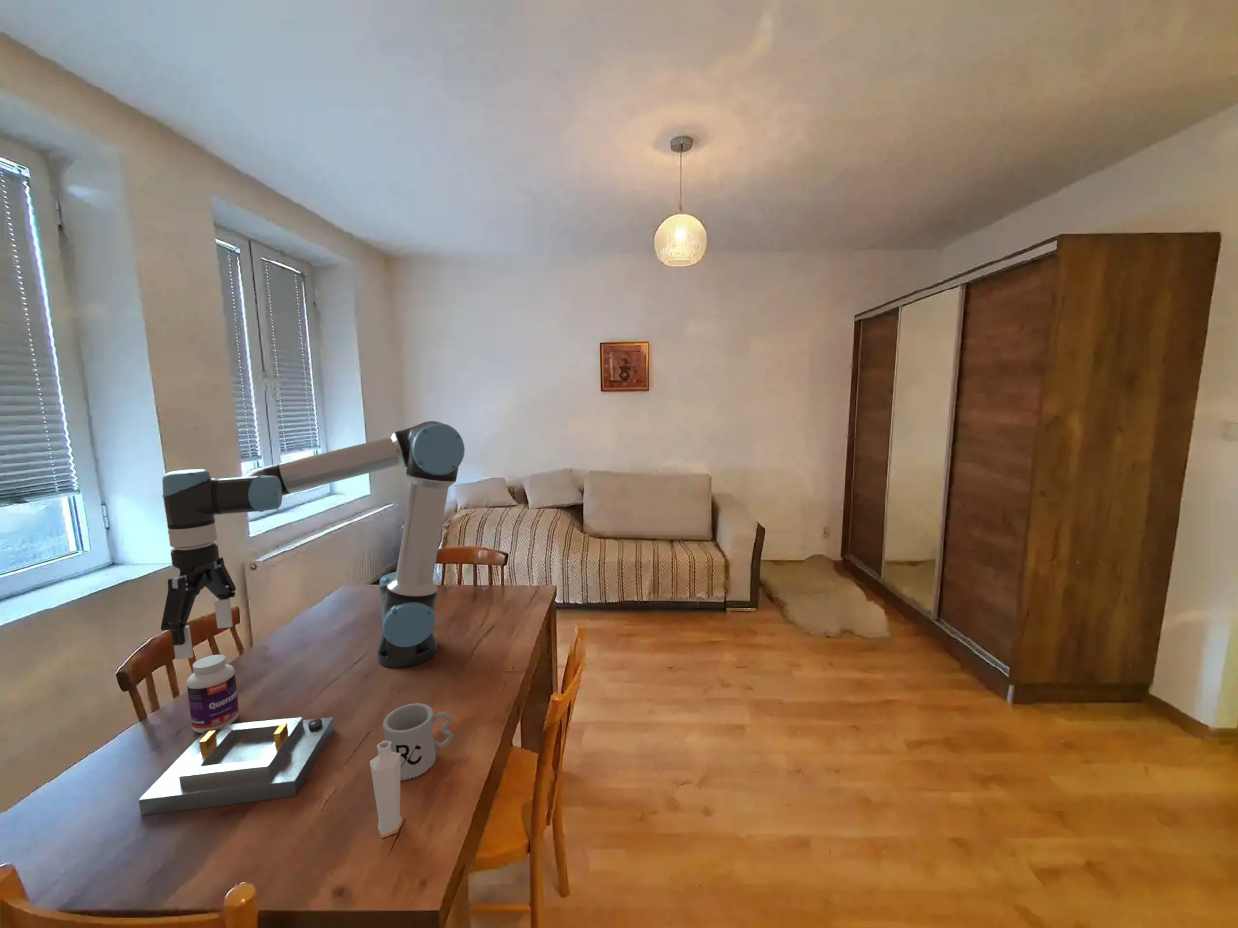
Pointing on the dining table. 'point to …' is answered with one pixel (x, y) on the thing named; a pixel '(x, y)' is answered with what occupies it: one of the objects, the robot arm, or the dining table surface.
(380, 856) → the dining table surface
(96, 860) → the dining table surface
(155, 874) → the dining table surface
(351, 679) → the dining table surface
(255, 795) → the grey clamping fixture
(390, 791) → the perfume bottle
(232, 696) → the pill bottle
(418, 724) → the mug
